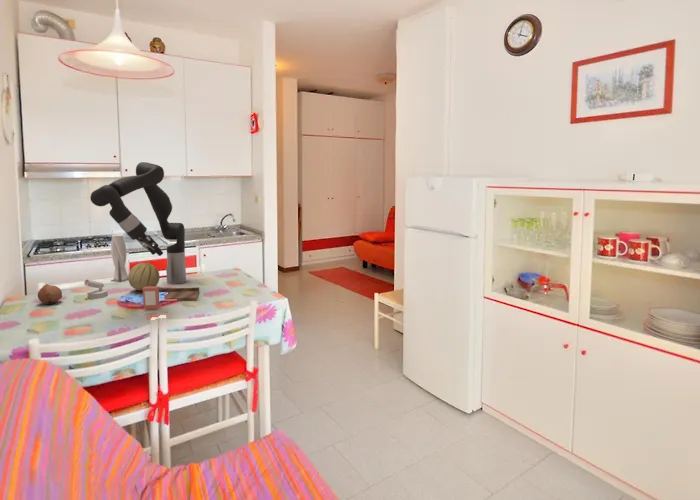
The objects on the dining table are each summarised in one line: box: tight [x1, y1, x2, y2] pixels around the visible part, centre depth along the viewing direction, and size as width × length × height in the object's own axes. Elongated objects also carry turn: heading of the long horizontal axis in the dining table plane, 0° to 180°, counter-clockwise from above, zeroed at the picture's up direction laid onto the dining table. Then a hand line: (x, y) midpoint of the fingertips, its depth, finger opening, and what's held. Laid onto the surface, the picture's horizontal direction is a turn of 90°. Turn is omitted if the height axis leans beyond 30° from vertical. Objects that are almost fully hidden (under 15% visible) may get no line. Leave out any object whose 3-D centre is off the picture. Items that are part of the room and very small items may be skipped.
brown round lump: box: [37, 283, 63, 305], centre depth 207 cm, size 10×9×10 cm
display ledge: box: [158, 286, 200, 302], centre depth 220 cm, size 20×13×3 cm, turn 102°
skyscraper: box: [110, 230, 129, 283], centre depth 248 cm, size 8×8×28 cm
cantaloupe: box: [127, 261, 160, 292], centre depth 230 cm, size 15×15×15 cm
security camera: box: [84, 278, 109, 300], centre depth 219 cm, size 9×10×10 cm
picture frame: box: [142, 285, 160, 310], centre depth 202 cm, size 6×3×10 cm, turn 102°
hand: (158, 254), depth 199 cm, fingers open, 8 cm apart
